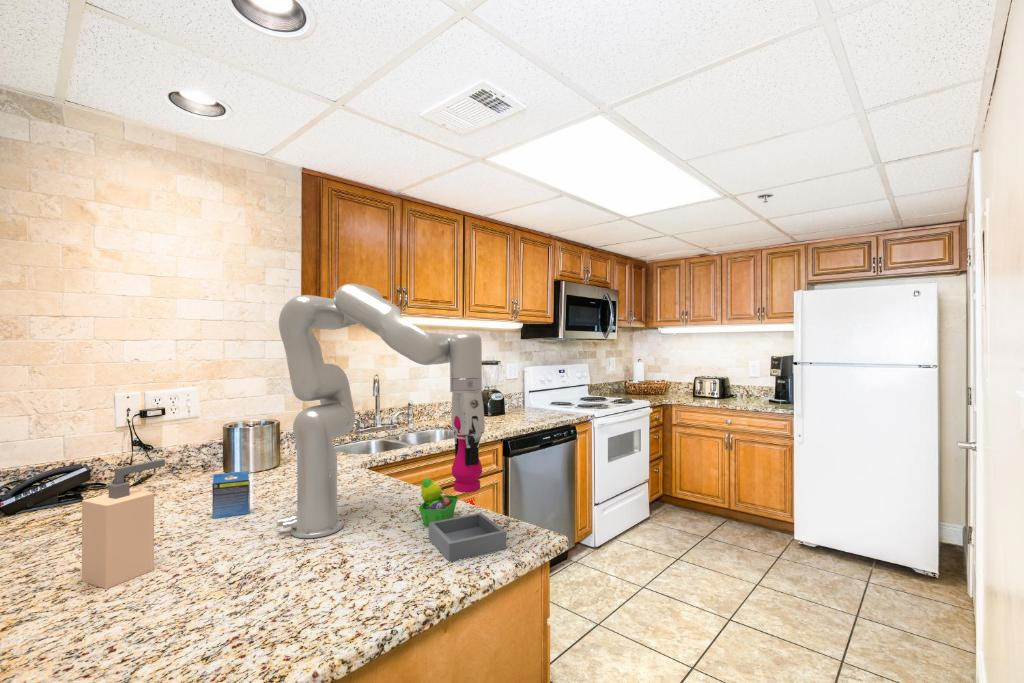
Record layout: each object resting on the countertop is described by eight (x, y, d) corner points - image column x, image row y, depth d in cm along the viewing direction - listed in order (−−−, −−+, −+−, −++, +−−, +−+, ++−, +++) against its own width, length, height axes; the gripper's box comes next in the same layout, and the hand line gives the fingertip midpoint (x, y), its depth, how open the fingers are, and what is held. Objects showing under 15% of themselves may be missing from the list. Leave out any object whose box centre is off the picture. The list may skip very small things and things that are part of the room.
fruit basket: (445, 529, 119) (445, 485, 119) (413, 527, 121) (412, 483, 121) (459, 514, 130) (459, 473, 131) (429, 512, 132) (429, 472, 132)
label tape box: (250, 510, 134) (250, 467, 134) (249, 514, 131) (249, 470, 131) (214, 515, 130) (214, 470, 131) (211, 519, 127) (212, 474, 127)
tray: (449, 562, 101) (449, 543, 101) (428, 539, 113) (428, 522, 113) (506, 548, 108) (506, 531, 108) (481, 528, 120) (480, 512, 120)
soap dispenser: (106, 589, 90) (106, 475, 91) (81, 581, 94) (81, 471, 94) (175, 561, 102) (175, 460, 102) (150, 554, 105) (151, 457, 106)
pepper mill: (452, 484, 114) (451, 402, 114) (482, 483, 114) (481, 402, 115) (451, 494, 107) (450, 406, 107) (482, 492, 107) (481, 405, 107)
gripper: (496, 387, 105) (496, 467, 105) (466, 382, 120) (467, 453, 120) (465, 389, 102) (466, 472, 101) (438, 383, 117) (439, 456, 116)
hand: (466, 461), depth 111 cm, fingers closed on pepper mill, 5 cm apart
